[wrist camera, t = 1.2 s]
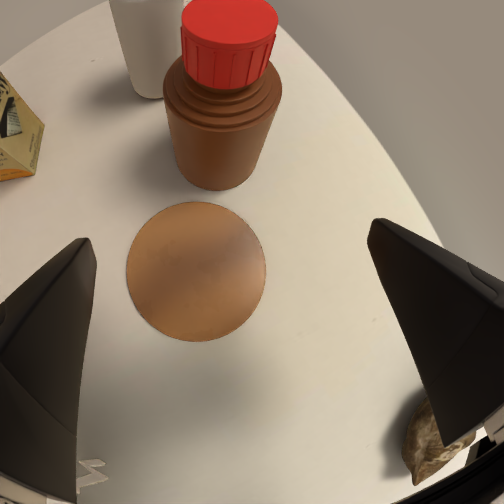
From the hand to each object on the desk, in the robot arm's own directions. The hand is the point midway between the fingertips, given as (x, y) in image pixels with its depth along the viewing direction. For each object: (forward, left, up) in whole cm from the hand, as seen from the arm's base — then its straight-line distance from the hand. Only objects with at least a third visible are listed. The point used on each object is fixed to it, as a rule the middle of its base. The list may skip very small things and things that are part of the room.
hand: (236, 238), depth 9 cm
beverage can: (+16, -7, -14) cm, 22 cm away
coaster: (+1, +1, -13) cm, 13 cm away
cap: (+7, -6, -2) cm, 10 cm away
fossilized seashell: (-24, -4, -14) cm, 28 cm away
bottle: (+7, -6, -13) cm, 16 cm away
